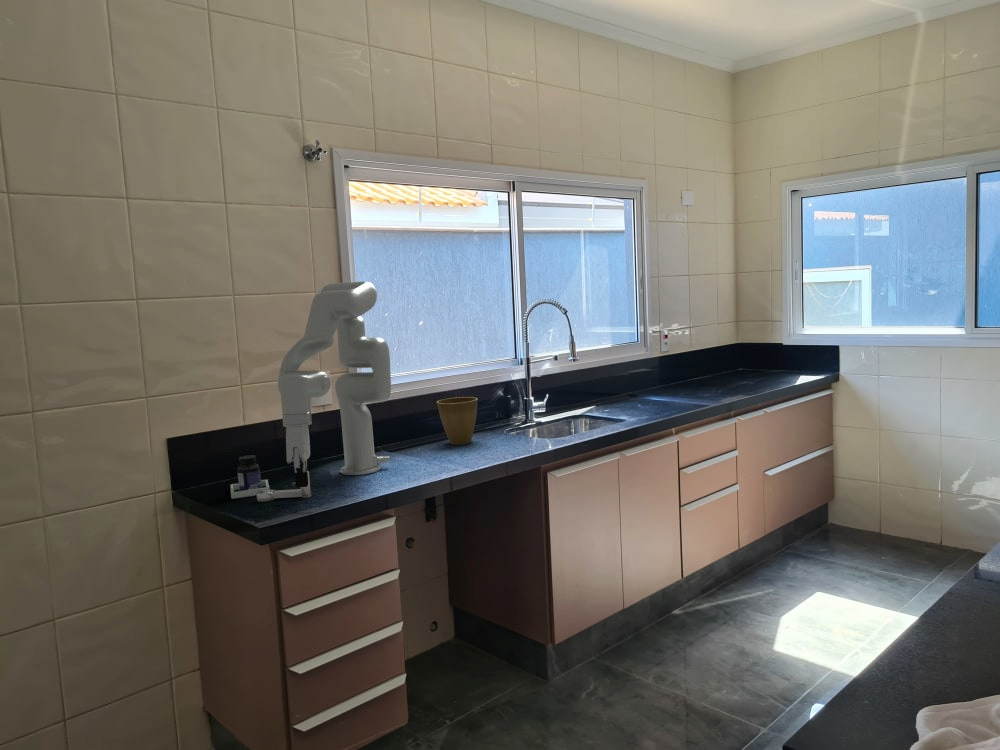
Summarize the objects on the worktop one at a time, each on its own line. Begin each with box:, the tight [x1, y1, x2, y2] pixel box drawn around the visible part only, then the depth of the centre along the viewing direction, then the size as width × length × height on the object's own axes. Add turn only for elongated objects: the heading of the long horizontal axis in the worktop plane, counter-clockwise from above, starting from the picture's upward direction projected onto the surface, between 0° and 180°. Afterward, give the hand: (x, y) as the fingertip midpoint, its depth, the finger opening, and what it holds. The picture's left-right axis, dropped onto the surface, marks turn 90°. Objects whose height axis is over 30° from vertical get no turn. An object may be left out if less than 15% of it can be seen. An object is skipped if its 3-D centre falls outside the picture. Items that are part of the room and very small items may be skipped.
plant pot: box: [436, 396, 478, 446], centre depth 273 cm, size 15×15×16 cm
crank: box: [256, 470, 312, 503], centre depth 207 cm, size 15×5×7 cm, turn 90°
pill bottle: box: [236, 454, 263, 491], centre depth 217 cm, size 6×6×11 cm
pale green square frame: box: [230, 479, 271, 500], centre depth 217 cm, size 10×10×3 cm
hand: (302, 486), depth 204 cm, fingers closed
